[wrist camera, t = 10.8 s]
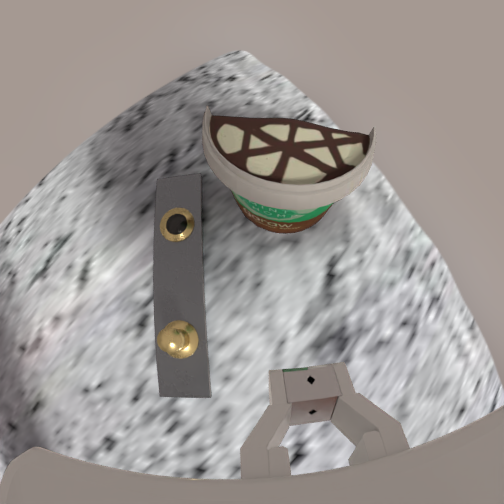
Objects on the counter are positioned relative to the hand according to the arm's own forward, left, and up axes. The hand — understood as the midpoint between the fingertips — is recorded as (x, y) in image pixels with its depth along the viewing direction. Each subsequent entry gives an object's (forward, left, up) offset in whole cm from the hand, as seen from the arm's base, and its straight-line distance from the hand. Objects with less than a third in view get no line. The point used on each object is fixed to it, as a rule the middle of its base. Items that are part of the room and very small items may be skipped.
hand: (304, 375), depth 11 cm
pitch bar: (-8, +7, -13) cm, 17 cm away
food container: (+1, +12, -13) cm, 18 cm away
